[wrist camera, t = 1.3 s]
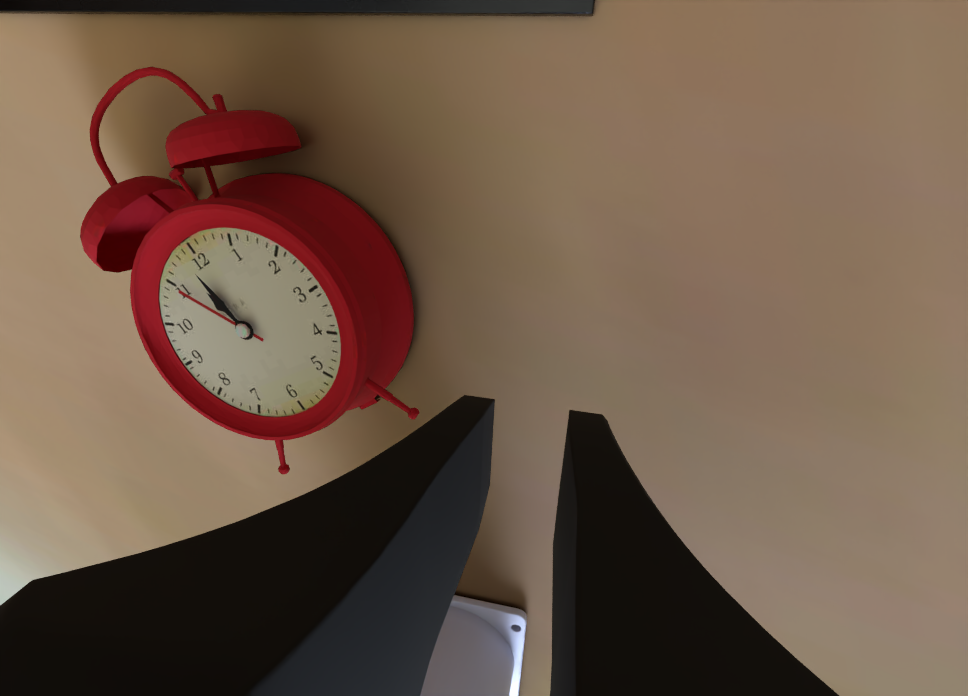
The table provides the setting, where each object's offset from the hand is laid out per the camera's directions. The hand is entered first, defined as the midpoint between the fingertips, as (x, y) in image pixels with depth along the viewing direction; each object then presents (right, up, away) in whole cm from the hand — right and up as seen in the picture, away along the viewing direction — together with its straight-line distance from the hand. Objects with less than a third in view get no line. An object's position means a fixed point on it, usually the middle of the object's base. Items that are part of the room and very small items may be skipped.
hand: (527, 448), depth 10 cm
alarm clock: (-10, +6, +12) cm, 16 cm away
